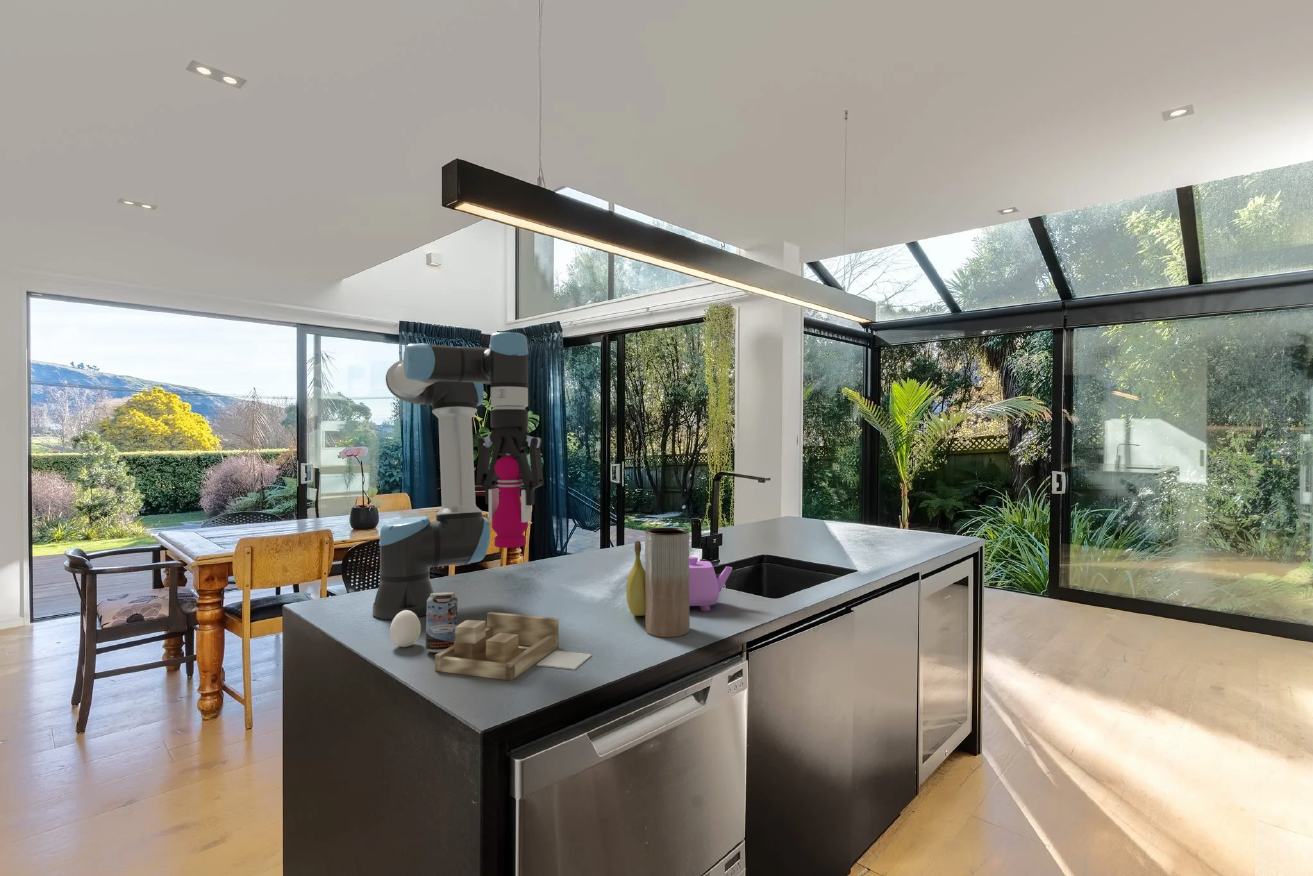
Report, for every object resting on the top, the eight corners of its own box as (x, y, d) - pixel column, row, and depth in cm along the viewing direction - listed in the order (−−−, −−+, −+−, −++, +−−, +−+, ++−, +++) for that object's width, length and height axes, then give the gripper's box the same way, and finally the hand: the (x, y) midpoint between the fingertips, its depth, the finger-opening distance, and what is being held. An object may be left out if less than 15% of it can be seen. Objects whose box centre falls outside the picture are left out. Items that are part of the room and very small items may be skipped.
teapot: (655, 613, 158) (655, 562, 158) (655, 600, 170) (654, 553, 170) (735, 612, 158) (735, 561, 158) (729, 599, 170) (729, 552, 170)
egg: (387, 644, 135) (387, 609, 135) (417, 639, 138) (417, 605, 138) (392, 653, 130) (392, 616, 130) (423, 647, 133) (423, 611, 133)
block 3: (486, 672, 119) (485, 640, 119) (500, 663, 124) (500, 632, 124) (504, 674, 118) (504, 642, 118) (518, 665, 123) (518, 634, 123)
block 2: (454, 668, 121) (454, 642, 121) (469, 659, 126) (469, 634, 126) (472, 670, 120) (472, 644, 120) (486, 661, 125) (486, 636, 125)
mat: (536, 665, 122) (536, 664, 122) (555, 651, 130) (555, 650, 130) (574, 670, 120) (574, 668, 120) (591, 655, 128) (591, 654, 128)
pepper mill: (532, 542, 133) (531, 447, 133) (522, 548, 126) (521, 448, 126) (498, 542, 134) (498, 447, 134) (486, 548, 127) (486, 448, 127)
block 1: (455, 642, 121) (455, 627, 121) (466, 635, 126) (466, 619, 126) (475, 643, 120) (475, 628, 120) (485, 636, 125) (485, 620, 125)
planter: (672, 640, 137) (672, 535, 136) (636, 632, 143) (635, 531, 142) (698, 629, 145) (697, 529, 144) (662, 621, 151) (662, 526, 150)
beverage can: (424, 658, 127) (424, 598, 127) (426, 646, 134) (426, 589, 134) (457, 654, 129) (456, 595, 128) (458, 643, 136) (457, 587, 136)
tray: (434, 670, 120) (434, 639, 120) (490, 639, 138) (490, 612, 138) (511, 680, 115) (511, 647, 115) (558, 646, 133) (558, 618, 133)
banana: (631, 602, 168) (631, 527, 167) (653, 602, 167) (653, 527, 167) (624, 629, 145) (624, 541, 145) (650, 629, 145) (649, 541, 145)
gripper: (456, 408, 129) (457, 521, 129) (544, 407, 123) (545, 525, 124) (477, 410, 136) (478, 516, 137) (561, 408, 131) (561, 520, 131)
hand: (509, 520), depth 130 cm, fingers closed on pepper mill, 7 cm apart
